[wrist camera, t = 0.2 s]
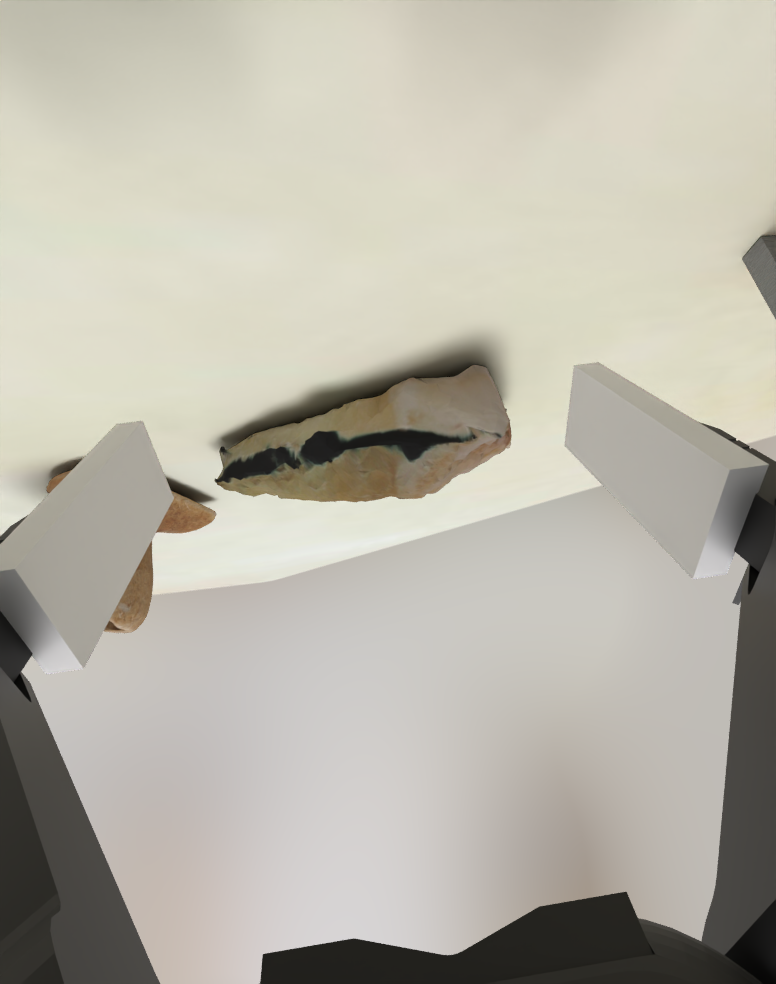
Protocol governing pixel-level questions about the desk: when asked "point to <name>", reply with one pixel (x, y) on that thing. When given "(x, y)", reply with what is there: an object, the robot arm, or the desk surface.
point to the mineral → (377, 444)
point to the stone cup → (150, 560)
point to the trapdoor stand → (764, 268)
